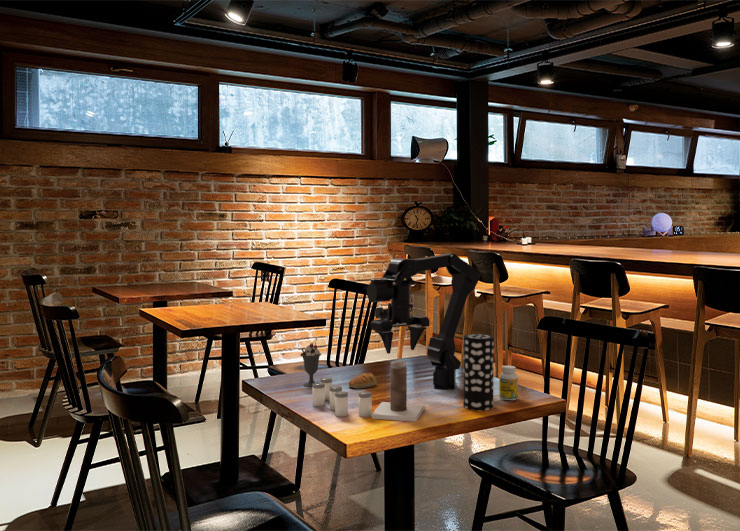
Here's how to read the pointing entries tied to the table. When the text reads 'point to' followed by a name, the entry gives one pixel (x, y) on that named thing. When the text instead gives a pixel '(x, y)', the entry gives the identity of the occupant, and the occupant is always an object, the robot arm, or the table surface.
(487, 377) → the spotted tube
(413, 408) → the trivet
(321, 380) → the shakers
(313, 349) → the sundae
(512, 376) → the supplement bottle
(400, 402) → the pepper mill
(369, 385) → the pastry
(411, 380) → the table surface
